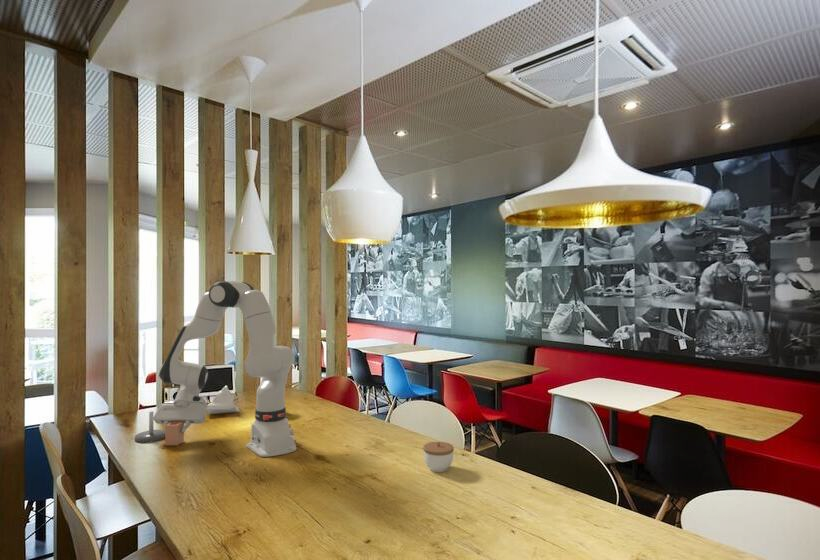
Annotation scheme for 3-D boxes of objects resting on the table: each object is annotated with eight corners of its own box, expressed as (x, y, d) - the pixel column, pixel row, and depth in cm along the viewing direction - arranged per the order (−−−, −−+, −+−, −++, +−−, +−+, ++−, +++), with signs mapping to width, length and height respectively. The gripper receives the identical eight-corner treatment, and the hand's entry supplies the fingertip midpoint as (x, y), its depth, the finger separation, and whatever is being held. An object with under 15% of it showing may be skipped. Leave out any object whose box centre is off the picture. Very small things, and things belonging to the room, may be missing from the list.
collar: (183, 441, 187) (183, 421, 187) (177, 445, 182) (177, 425, 182) (171, 441, 187) (171, 421, 187) (165, 445, 182) (165, 425, 182)
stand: (167, 439, 190) (168, 413, 190) (134, 444, 184) (134, 417, 184) (166, 431, 200) (166, 406, 200) (134, 436, 194) (135, 410, 194)
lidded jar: (428, 476, 154) (428, 448, 154) (419, 464, 164) (419, 438, 164) (458, 473, 157) (458, 445, 157) (447, 461, 167) (447, 435, 167)
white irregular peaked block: (207, 414, 232) (210, 385, 236) (238, 414, 237) (241, 386, 241) (205, 414, 221) (208, 384, 225) (237, 414, 225) (240, 385, 229)
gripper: (158, 398, 192) (145, 428, 182) (206, 397, 192) (196, 428, 182) (164, 405, 196) (151, 436, 186) (211, 405, 196) (201, 435, 187)
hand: (173, 432), depth 184 cm, fingers closed on collar, 5 cm apart
